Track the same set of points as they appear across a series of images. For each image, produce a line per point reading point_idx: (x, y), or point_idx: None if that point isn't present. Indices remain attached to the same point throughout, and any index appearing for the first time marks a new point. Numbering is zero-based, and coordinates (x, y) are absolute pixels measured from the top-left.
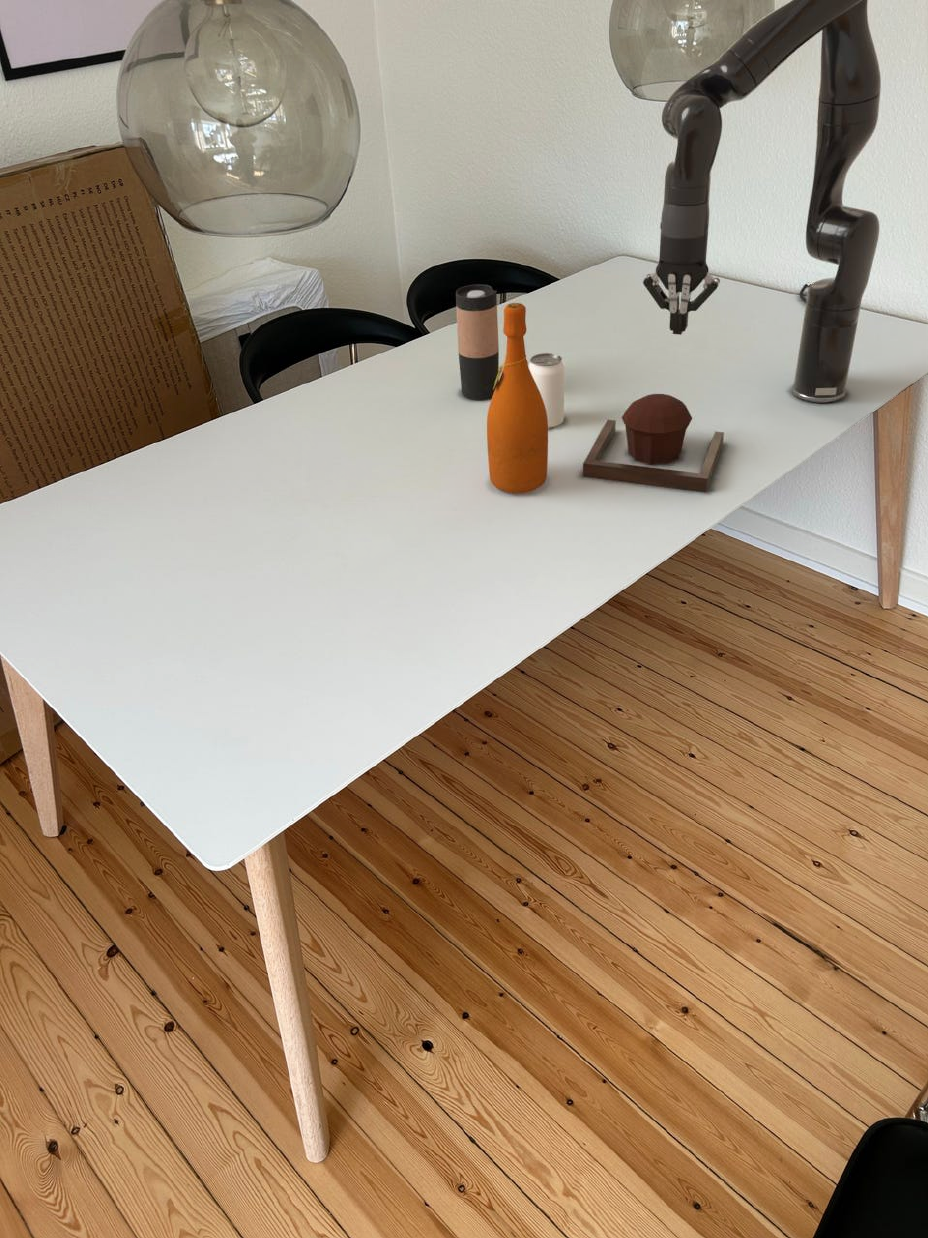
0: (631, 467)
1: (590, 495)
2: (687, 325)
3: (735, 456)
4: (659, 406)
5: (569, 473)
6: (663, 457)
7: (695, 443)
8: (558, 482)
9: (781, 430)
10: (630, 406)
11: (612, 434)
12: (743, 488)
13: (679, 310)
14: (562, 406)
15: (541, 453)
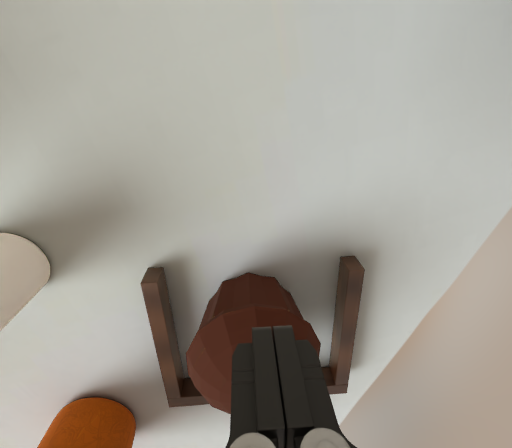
0: None
1: (201, 415)
2: (316, 354)
3: (376, 282)
4: None
5: (152, 385)
6: None
7: (309, 261)
8: (149, 404)
9: (463, 170)
10: (201, 393)
11: (165, 292)
12: (386, 353)
13: (281, 441)
14: (29, 286)
15: None
